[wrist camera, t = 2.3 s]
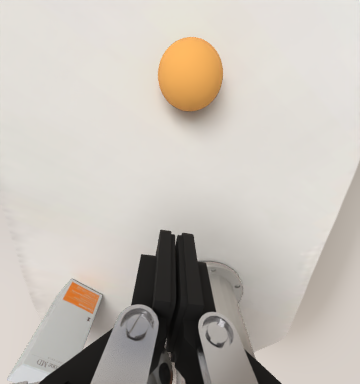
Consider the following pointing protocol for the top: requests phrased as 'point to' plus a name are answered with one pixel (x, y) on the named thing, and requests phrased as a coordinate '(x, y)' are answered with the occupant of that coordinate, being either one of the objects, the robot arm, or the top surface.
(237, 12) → the top surface
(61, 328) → the skincare box
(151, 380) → the lucky cat figurine
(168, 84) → the ball
